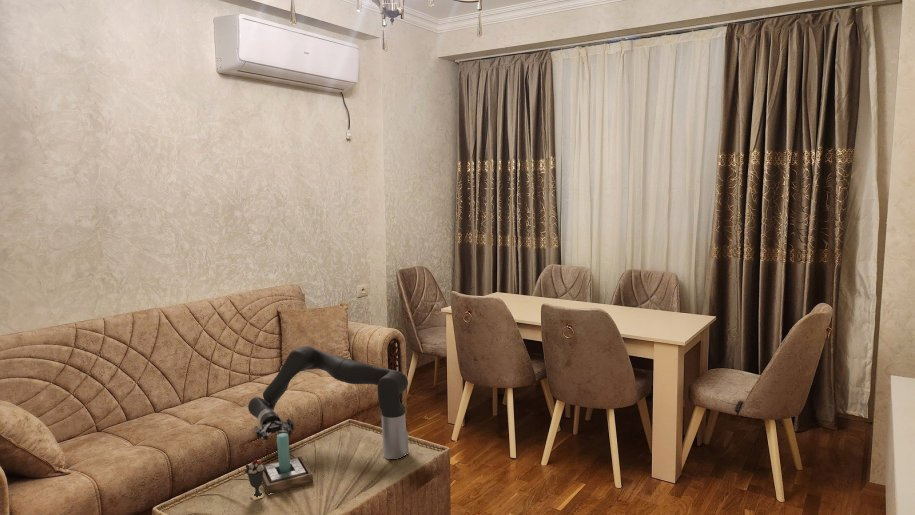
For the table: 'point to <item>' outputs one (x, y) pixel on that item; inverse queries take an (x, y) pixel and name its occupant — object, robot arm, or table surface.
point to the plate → (275, 475)
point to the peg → (283, 453)
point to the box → (290, 482)
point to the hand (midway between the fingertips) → (278, 435)
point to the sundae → (255, 475)
